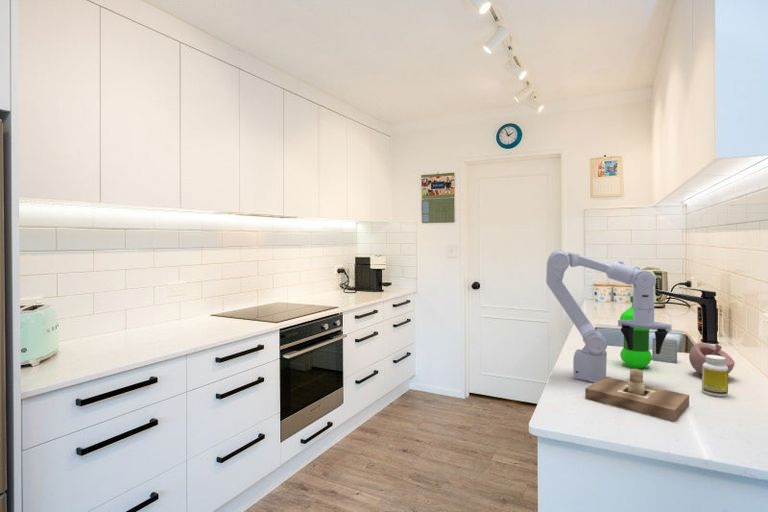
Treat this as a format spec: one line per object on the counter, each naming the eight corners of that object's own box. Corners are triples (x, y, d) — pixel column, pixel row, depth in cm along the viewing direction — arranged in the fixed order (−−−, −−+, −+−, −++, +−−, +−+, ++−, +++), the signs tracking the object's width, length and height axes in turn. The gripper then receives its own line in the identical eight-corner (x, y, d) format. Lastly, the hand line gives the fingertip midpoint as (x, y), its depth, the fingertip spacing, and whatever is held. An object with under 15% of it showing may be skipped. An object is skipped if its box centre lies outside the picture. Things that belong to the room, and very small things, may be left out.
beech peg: (625, 401, 123) (625, 370, 123) (631, 398, 126) (632, 367, 125) (640, 405, 120) (640, 373, 120) (646, 402, 123) (647, 370, 122)
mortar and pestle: (719, 385, 137) (720, 348, 136) (680, 374, 148) (681, 340, 147) (742, 379, 142) (743, 345, 141) (702, 369, 153) (703, 337, 152)
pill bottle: (732, 398, 126) (733, 360, 125) (708, 396, 127) (709, 359, 127) (720, 390, 132) (721, 354, 131) (697, 389, 133) (698, 353, 133)
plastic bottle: (655, 372, 150) (657, 299, 149) (621, 368, 154) (622, 298, 152) (649, 363, 159) (651, 295, 158) (616, 361, 163) (618, 294, 162)
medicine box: (676, 360, 164) (677, 337, 163) (677, 363, 160) (677, 340, 159) (652, 357, 168) (652, 335, 167) (651, 360, 164) (652, 337, 164)
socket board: (585, 398, 126) (585, 387, 126) (604, 386, 136) (604, 376, 136) (674, 421, 110) (674, 409, 110) (689, 405, 120) (689, 394, 120)
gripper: (673, 308, 135) (674, 352, 135) (622, 304, 145) (623, 345, 146) (667, 311, 130) (668, 357, 130) (615, 307, 140) (616, 349, 141)
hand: (644, 351), depth 138 cm, fingers open, 7 cm apart
